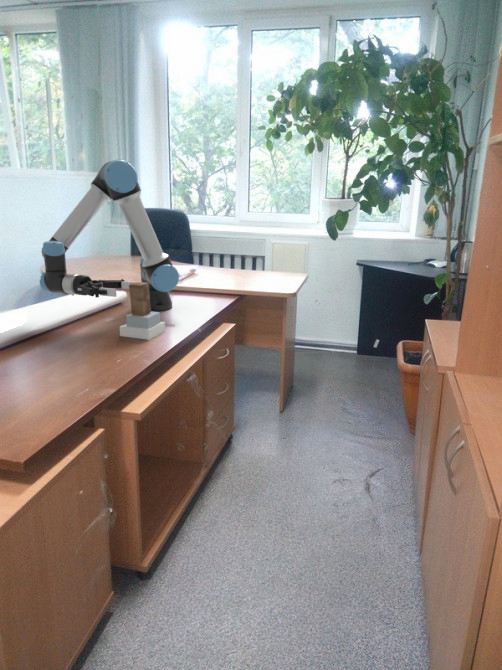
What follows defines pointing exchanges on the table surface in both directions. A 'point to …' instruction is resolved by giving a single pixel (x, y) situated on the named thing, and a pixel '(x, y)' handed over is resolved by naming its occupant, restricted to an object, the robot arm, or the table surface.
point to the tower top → (143, 320)
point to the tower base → (142, 331)
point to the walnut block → (140, 298)
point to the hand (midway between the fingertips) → (126, 289)
